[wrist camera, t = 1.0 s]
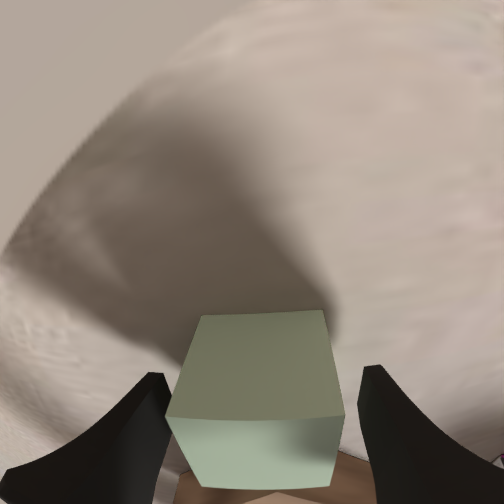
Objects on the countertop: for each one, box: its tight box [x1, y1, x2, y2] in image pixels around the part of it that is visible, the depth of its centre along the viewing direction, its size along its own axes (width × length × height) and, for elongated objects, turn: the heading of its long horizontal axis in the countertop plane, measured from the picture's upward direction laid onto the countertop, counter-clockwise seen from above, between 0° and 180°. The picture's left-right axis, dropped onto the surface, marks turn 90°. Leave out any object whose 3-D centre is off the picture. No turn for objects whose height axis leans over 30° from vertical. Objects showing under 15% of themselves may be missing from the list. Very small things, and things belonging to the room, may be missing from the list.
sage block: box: [165, 309, 345, 490], centre depth 10 cm, size 4×4×5 cm
